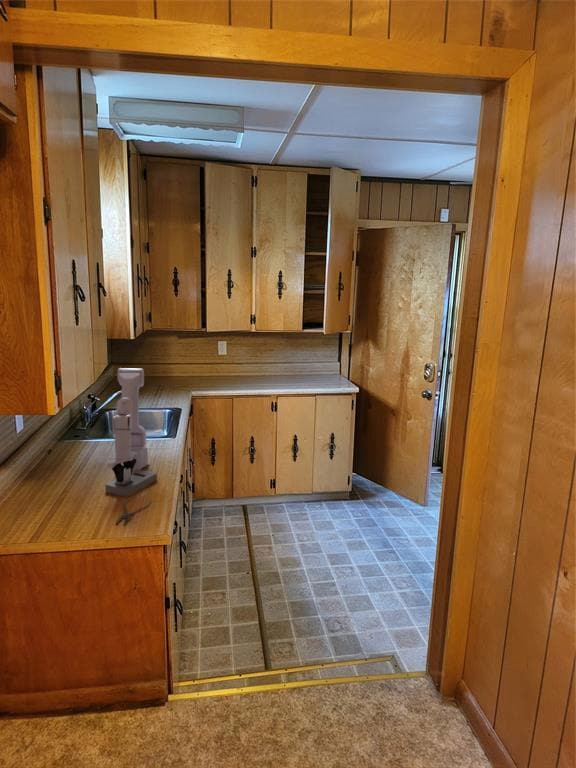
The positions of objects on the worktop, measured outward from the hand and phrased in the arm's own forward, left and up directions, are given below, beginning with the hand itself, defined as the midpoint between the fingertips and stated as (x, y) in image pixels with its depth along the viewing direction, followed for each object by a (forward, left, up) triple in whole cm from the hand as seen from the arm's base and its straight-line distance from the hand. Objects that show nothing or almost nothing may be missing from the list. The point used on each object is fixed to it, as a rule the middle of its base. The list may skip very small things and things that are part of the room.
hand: (124, 479), depth 185 cm
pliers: (+12, +15, -5) cm, 20 cm away
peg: (0, 0, -4) cm, 4 cm away
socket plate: (-5, 0, -4) cm, 6 cm away
